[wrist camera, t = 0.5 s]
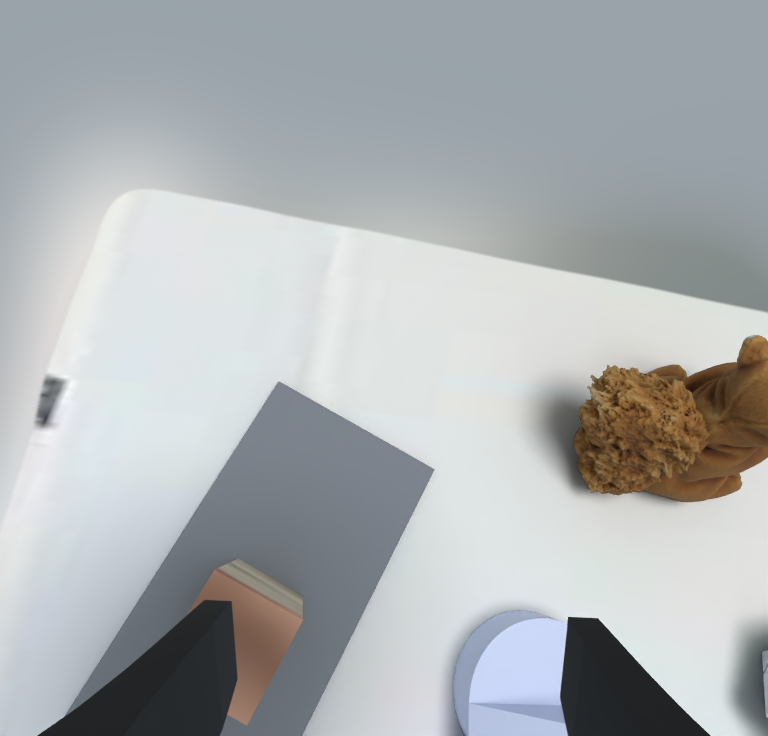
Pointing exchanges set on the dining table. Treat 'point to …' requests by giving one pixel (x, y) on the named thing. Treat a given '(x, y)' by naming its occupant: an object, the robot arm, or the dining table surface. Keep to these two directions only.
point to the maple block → (254, 627)
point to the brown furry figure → (676, 428)
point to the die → (765, 678)
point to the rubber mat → (286, 546)
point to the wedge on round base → (512, 677)
